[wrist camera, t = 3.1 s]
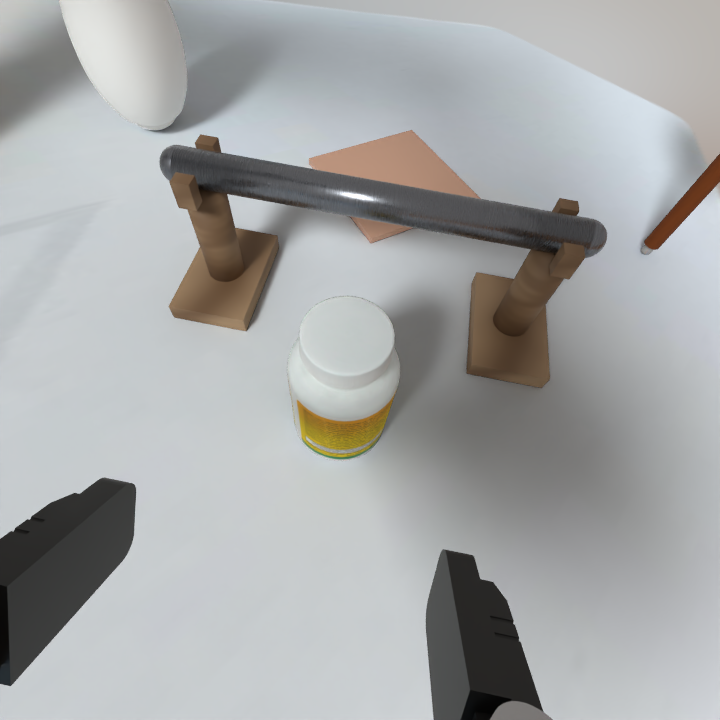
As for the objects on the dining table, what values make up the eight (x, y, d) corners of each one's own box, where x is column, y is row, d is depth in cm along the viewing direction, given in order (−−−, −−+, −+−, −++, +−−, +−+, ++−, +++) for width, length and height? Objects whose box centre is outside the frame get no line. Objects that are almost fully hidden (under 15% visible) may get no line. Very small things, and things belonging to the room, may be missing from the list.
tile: (309, 163, 38) (309, 158, 38) (410, 134, 41) (411, 130, 41) (370, 243, 34) (371, 238, 33) (479, 203, 37) (481, 199, 36)
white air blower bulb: (167, 160, 37) (54, -164, 22) (93, 134, 38) (-66, -191, 23) (217, 115, 41) (150, -186, 25) (148, 93, 42) (44, -209, 26)
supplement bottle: (282, 400, 26) (262, 304, 18) (359, 369, 28) (373, 267, 19) (317, 480, 24) (313, 411, 16) (399, 441, 25) (435, 359, 17)
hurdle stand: (174, 317, 29) (113, 199, 20) (216, 235, 33) (179, 109, 25) (541, 387, 28) (632, 294, 20) (537, 295, 32) (610, 185, 24)
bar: (160, 189, 23) (147, 156, 22) (175, 167, 24) (163, 134, 23) (595, 269, 23) (617, 240, 21) (591, 242, 24) (612, 214, 22)
